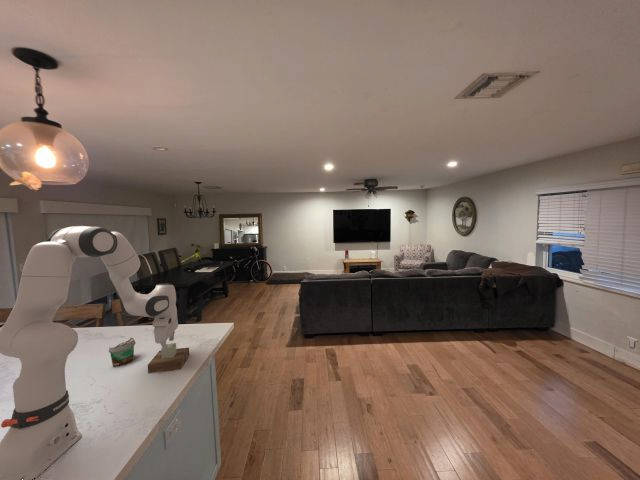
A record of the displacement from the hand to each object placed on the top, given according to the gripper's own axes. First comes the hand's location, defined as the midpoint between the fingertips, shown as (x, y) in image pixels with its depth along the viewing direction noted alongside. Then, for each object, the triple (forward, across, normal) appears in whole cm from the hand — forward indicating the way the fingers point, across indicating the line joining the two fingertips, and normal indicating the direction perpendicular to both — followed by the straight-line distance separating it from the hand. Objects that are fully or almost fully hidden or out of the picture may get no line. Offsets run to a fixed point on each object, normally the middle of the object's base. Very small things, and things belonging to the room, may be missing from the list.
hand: (168, 344), depth 129 cm
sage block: (+6, 0, 0) cm, 6 cm away
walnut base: (+10, 0, 0) cm, 10 cm away
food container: (+10, -7, -22) cm, 25 cm away
